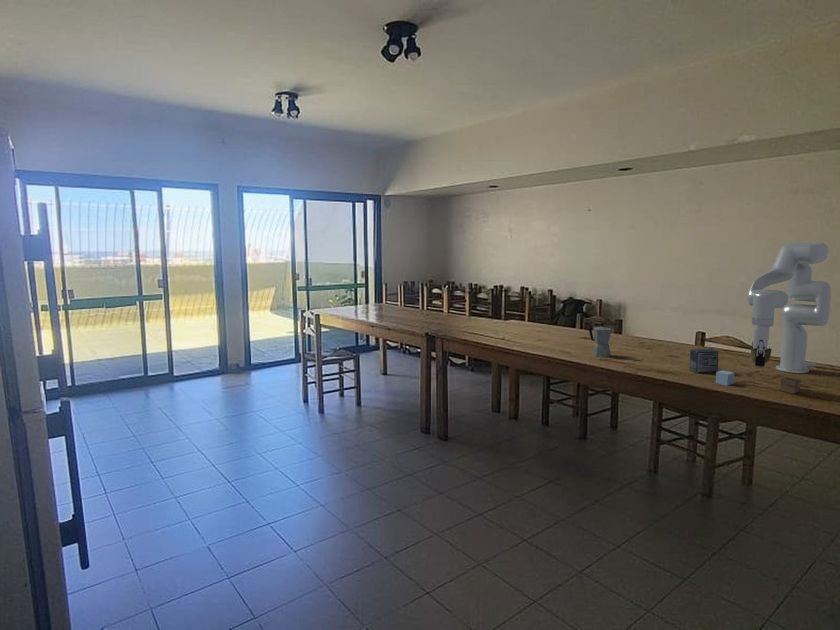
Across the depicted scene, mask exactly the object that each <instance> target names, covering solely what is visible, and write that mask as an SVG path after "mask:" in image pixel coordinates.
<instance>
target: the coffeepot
mask: <svg viewBox="0 0 840 630" xmlns="http://www.w3.org/2000/svg"><path fill="white" fill-rule="evenodd" d="M604 325H605V323H603V322H602V323H600V326H594V325H590V327H588V333H589V337H590V340H591V341H593V342H594V341H595V344H594V348H593V351H592V355H593V356H594V357H596V358H597V357H598V358H608V357H610V356H611V349H610V343H609V342H610V338H611V334H612V333H613V332H614V330H613V329H612V328H611V327H606V326H604Z"/></svg>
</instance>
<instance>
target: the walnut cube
mask: <svg viewBox="0 0 840 630" xmlns="http://www.w3.org/2000/svg"><path fill="white" fill-rule="evenodd" d="M779 390H780V391H781V392H786V393H789V394H796V393H799V392H801V379H798V378H794V377H789V376H786V377H782V378H780V387H779Z"/></svg>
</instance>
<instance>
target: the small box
mask: <svg viewBox="0 0 840 630" xmlns="http://www.w3.org/2000/svg"><path fill="white" fill-rule="evenodd" d="M689 371H690V372H693V373H695V374H712V373H713V374H716V372H718V371H719V350H716V349H712V348H701V349H698V348H697V349H690V351H689Z"/></svg>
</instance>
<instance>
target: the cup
mask: <svg viewBox="0 0 840 630" xmlns="http://www.w3.org/2000/svg"><path fill="white" fill-rule="evenodd" d="M772 349H773V348H771V347H767V350H765V355H764V357H765V364H767V363H768V362H769V361H770V358H771V354H772ZM749 350H750V358H751V361H752V362H754V363H755V361H756V356H757V348H756V349H753V346H750V349H749ZM758 351H759V350H758ZM754 366H755V367H757V368H764V367H765V366H756V365H755V364H754Z"/></svg>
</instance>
